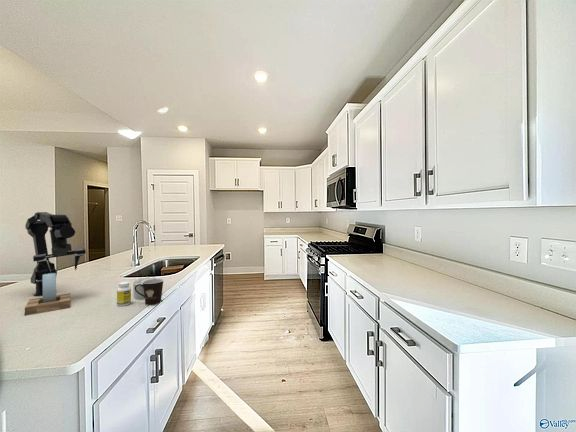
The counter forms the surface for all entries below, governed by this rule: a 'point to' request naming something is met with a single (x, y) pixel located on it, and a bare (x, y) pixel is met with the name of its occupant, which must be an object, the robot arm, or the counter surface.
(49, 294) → the peg
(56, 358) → the counter surface
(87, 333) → the counter surface
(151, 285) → the coffee mug
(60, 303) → the holder
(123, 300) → the supplement bottle
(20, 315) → the counter surface
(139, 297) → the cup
